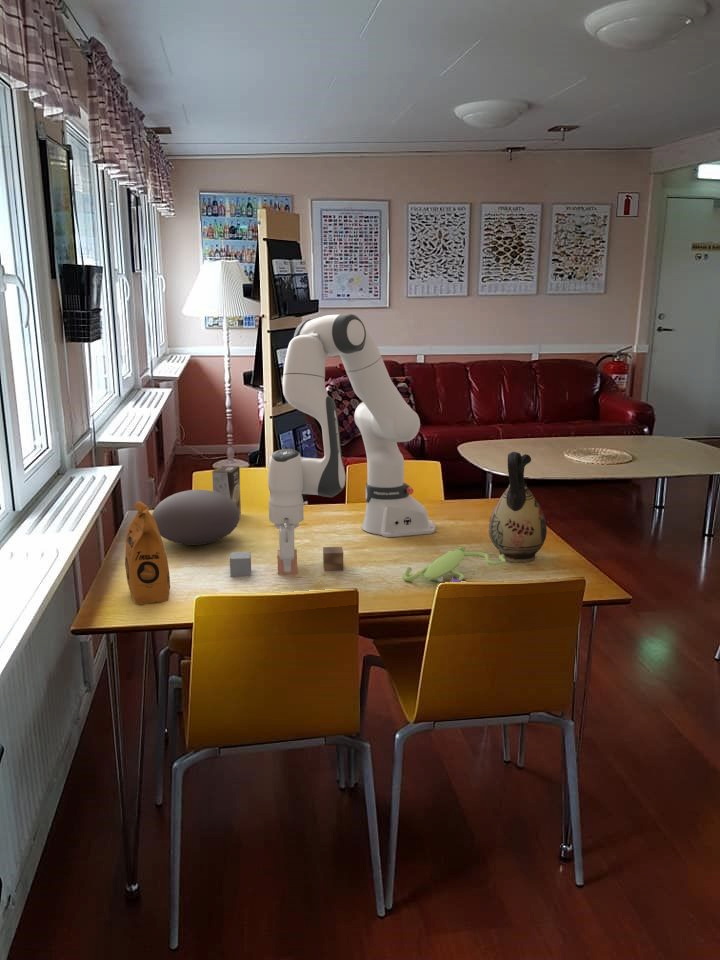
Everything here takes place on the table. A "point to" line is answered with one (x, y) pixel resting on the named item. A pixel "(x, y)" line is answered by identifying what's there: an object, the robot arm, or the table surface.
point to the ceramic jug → (517, 516)
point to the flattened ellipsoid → (196, 517)
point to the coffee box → (228, 483)
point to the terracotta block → (293, 564)
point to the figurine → (449, 565)
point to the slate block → (240, 564)
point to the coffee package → (146, 559)
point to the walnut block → (333, 558)
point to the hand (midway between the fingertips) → (287, 564)
